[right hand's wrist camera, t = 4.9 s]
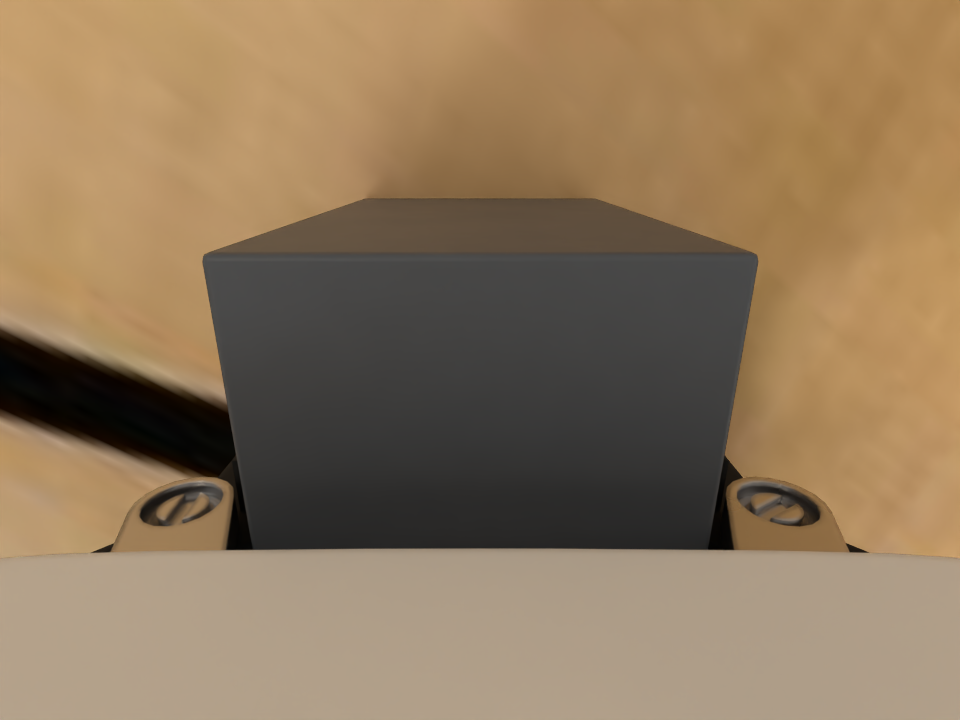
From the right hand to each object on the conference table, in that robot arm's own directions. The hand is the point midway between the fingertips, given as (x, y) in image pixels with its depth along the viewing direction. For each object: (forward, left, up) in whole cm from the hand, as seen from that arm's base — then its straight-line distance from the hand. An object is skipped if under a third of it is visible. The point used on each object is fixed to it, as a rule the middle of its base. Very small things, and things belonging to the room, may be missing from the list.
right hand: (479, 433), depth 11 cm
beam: (+30, 0, -3) cm, 30 cm away
